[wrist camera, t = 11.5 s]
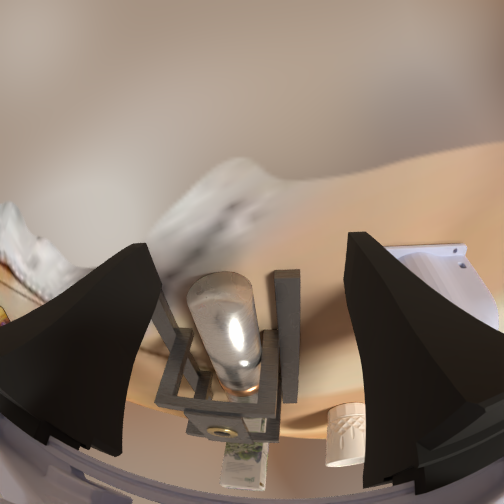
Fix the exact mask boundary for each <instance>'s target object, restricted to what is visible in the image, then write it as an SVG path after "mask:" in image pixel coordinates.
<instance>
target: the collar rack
mask: <svg viewBox="0 0 504 504" xmlns="http://www.w3.org/2000/svg"><path fill="white" fill-rule="evenodd" d="M274 282H275V294H276V307H277V320H278V330H264V334H263V346H262V358H261V369H260V380H259V391H258V401H257V403H236V402H222V401H211V400H212V399H213V393H212V392H211V390H210V387H211V382H212V378H213V374H212V372H208V371H200V370H199V368H198V366H197V364H196V362H195V360H194V358H193V356H192V354H191V352H190V348H191V344H192V341H193V337H194V333H193V330H192V329H189V328H179V327H178V325H177V323H176V321H175V319H174V317H173V314H172V312H171V310H170V308H169V305H168V303H167V301H166V299H165V296H164V294H163V292H162V289H161V291H160V295H159V298H158V302H157V305H156V308H155V311H154V313H153V316H152V318H151V319H152V321H153V323H154V325H155V327H156V328H157V330H158V332H159V334H160V336H161V337H162V339H163V341H164V343H165V345H166V346H167V348H168V350H169V351H170V355H169V358H168V361H167V364H166V367H165V370H164V373H163V376H162V379H161V383H160V386H159V389H158V392H157V395H156V399H155V402H154V403H155V404H156V405H157V406H158V407H163V408H168V409H174V410H180V411H184V414H185V416H186V417H187V418H188V419H189V421H188V425H187V429H186V433H187V434H188V435H192V436H198V437H205V438H208V439H209V440H212V441H220V442H230V443H242V444H253V443H254V442H263V443H279V435H280V417H281V395H282V393H283V403H297V395H298V375H299V347H300V269H297V270H275V272H274ZM279 347H280V362H281V374H278V363H279ZM183 374H184V376H185V378H186V379H187V381H188V382H189V384H190V385H191V387H192V388H193V390H194V391H195V395H194V399H193V398H185V397H178V396H177V394H178V390H179V386H180V383H181V379H182V376H183ZM243 417H246V418H267V420H266V432H265V433H262V432H249V430H248V428H247V426H246V424H245V422H244V420H243Z"/></svg>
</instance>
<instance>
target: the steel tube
mask: <svg viewBox="0 0 504 504" xmlns="http://www.w3.org/2000/svg"><path fill="white" fill-rule="evenodd" d="M187 304H188V306H189V309H190V312H191V314H192V317H193V319H194V322H195V324H196V327H197V329H198V332H199V334H200V337H201V339H202V342H203V344H204V346H205V349H206V351H207V353H208V356H209V358H210V360H211V363H212V365H213V367H214V369H215V372H216V374H217V378H218V380H219V383H220V385H221V387H222V388H223V390H224V391H225V393H226V395H227V398H228V400H229V402H236V403H257V401H258V391H259V380H260V369H261V358H262V347H261V340H260V334H259V328H258V322H257V315H256V309H255V303H254V297H253V290H252V285H251V283H250V281H249V280H248V279H247V278H246V277H244V276H243V275H240V274H238V273H234V272H218V273H213V274H210V275H207V276H205V277H203V278H201V279H200V280H198V281H197V282H195V283H194V284H193V285H192V287H191V288H190V289H189V291H188V294H187ZM243 418H245V419H256V418H246V417H243Z"/></svg>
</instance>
